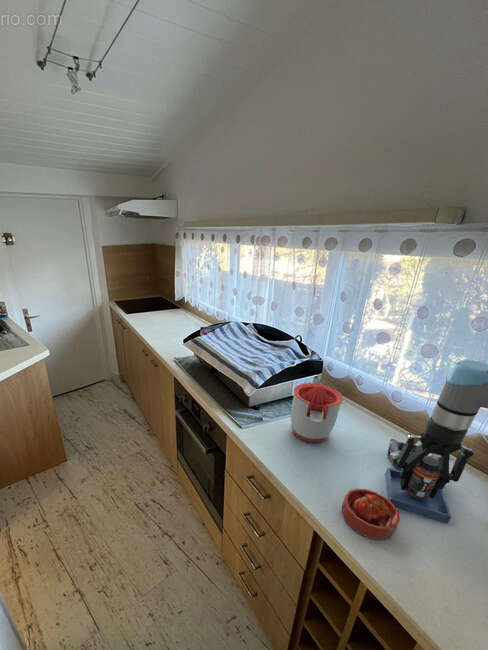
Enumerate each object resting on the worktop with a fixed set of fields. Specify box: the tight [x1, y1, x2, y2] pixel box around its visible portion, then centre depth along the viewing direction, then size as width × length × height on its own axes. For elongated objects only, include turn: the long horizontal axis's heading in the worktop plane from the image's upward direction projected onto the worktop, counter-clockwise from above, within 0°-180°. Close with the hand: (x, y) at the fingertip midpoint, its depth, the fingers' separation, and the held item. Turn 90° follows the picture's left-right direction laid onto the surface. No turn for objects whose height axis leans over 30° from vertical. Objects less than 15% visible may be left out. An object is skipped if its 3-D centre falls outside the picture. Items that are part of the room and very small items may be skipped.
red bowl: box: [341, 488, 401, 540], centre depth 79 cm, size 12×12×4 cm
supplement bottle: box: [405, 455, 440, 499], centre depth 82 cm, size 6×6×11 cm
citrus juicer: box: [290, 382, 344, 444], centre depth 107 cm, size 16×17×20 cm
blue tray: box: [384, 467, 453, 525], centre depth 85 cm, size 13×13×3 cm
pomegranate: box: [354, 490, 389, 526], centre depth 78 cm, size 7×7×10 cm
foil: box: [387, 438, 441, 475], centre depth 94 cm, size 12×11×15 cm
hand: (416, 490), depth 85 cm, fingers closed on supplement bottle, 6 cm apart
